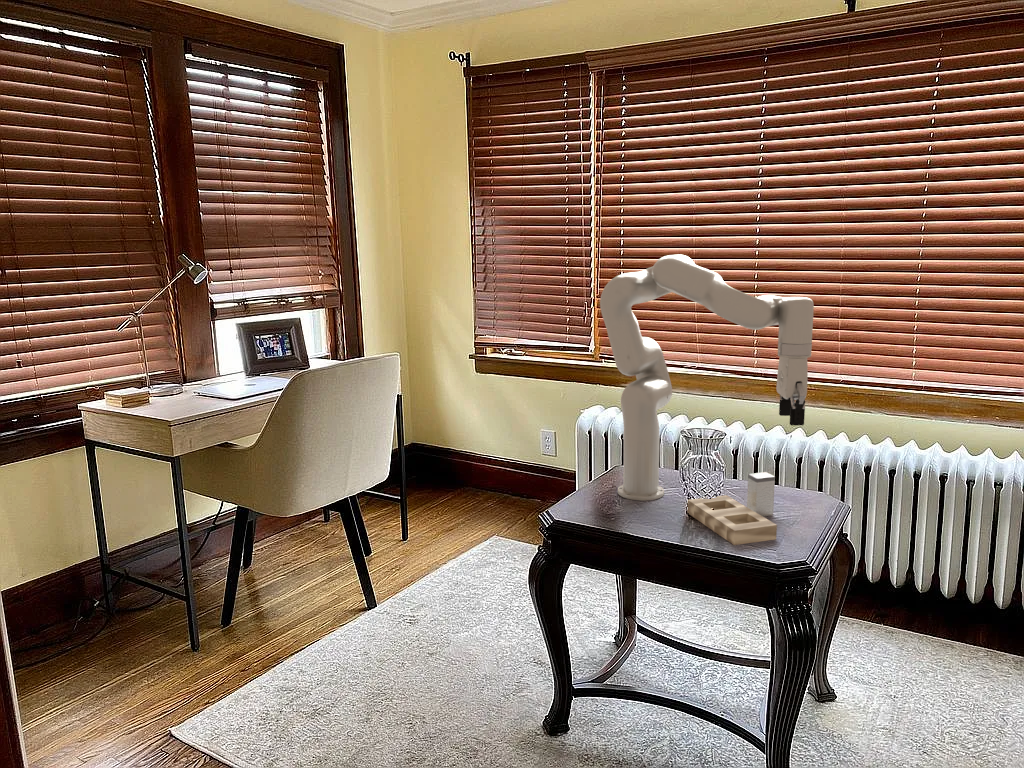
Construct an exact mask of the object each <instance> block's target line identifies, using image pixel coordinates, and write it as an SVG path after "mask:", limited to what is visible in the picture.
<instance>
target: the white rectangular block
mask: <svg viewBox="0 0 1024 768" xmlns="http://www.w3.org/2000/svg"><path fill="white" fill-rule="evenodd" d="M775 479H776V476H774V475H773V474H771V473H768V472H767V471H764V472H756V473H754V472H753V473H748V474H747V495H746V499H747V500H746V507H747V508H749V509H751V510H752V511H754V512H756V513H758V514H759V515H761V516H763V517H767V516H768V517H769V516H773V515H774V505H775V504H774V503H775V483H776V481H775Z"/></svg>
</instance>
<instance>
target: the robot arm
mask: <svg viewBox="0 0 1024 768" xmlns="http://www.w3.org/2000/svg"><path fill="white" fill-rule="evenodd" d="M671 293H673V294H675V295H678V296H681V297H683V298H685V299H687V300H690V301H692V302H694V303H696V304H699V305H701V306H703V307H704V308H706V309H707V310H709V311H710V312H712V313H714V314H715V315H717V316H719V317H720V318H722V319H724V320H727V321H728V322H731V323H734V324H736V325H738V326H741V327H743V328H746V329H750V330H754V331H755V330H756V331H758V330H762V329H765V328H768V327H772V326H778V336H777V338H778V339H777V340H778V342H777V356H778V357H779V359H778V360H779V361H778V364H777V365H778V366H777V374H776V375H777V376H776V378H777V379H776V392H777V394H778V395H779V404H778V406H779V407H778V408H779V409H778V415H779V416H780V417H787V416H789V425H790V426H804V425H805V413H806V400H805V399H806V398H807V394H808V379H809V378H808V374H809V373H808V371H809V369H808V367H809V366H808V358H811V357H812V349H813V348H812V347H813V344H812V343H813V327H814V311H815V310H814V309H815V307H814V306H815V305H814V301H813V300H812V298H809V297H803V296H790V297H789V296H788V297H782V296H777V295H773V294H766V295H765V294H764V295H760V296H754V295H751V294H747V293H745V292H743V291H740V290H739V289H736V288H733V287H732V286H730V285H728V284H727V283H726V282H725V281H724V280H723V277H722V276H721V275H720V274H719V273H718V272H715V271H712V270H710V269H708V268H705V267H702V266H699V265H697V264H696V263H695V262H694V261H693V259H692V258H690V257H689V256H688V255H684V254H669V255H664V256H662V257H660V258H658V260H656V261H655V263H654V264H653V266H651V267H648V268H646V269H642V270H640V271H631V272H624V273H622V274H618V275H616V276H615V277H613V278H611V280H609V281H608V282H607V284H606V285H605V286H604V288H603V289H602V292H601V295H600V301H599V306H600V307H599V309H600V313H601V317H602V319H603V322H604V325H605V328H606V332H607V337H608V340H609V344H610V347H611V351H612V355H613V359H614V362H615V365H616V368H617V370H618V371H619V373H621V374H622V375H625V376H627V377H632V376H635V378H636V380H634V381H631V382H630V383H629V384H627V385H626V386H625V388H624V389H623V391H622V393H621V396H620V405H621V406H620V407H621V412H622V421H623V423H622V424H623V466H622V467H623V473H622V478H623V480H622V481H623V482H622V484H620V485H619V486H618V488H617V494H618V495H619V496H620V497H622V498H624V499H626V500H627V499H628V500H631V501H643V502H644V501H645V502H646V501H654V500H659V499H660V498H663V497H664V496H665V489H664V488H663V487H662V486H661V485H660V483H659V482H660V481H659V478H660V424H659V423H660V422H659V419H658V414H657V413H658V412H657V411H658V410H661V409H662V408H663V407H665V406H667V404H669V403H670V401H671V399H672V396H673V387H672V382H671V379H670V375H669V371H668V366H667V363H666V360H665V356H664V353H663V351H662V348H661V347H660V345H659V343H658V342H657V341H656V340H655V339H653V338H651V337H648V336H643V335H642V332H641V329H640V326H639V325H640V324H639V322H638V319H637V317H636V315H635V314H634V312H633V310H632V309H633V308H632V307H633V306H634V305H638V304H643V303H644V304H645V303H647V302H651V301H653V300H656V299H658V298H661V297H663V296H665V295H668V294H671Z"/></svg>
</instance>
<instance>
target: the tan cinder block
mask: <svg viewBox="0 0 1024 768" xmlns="http://www.w3.org/2000/svg"><path fill="white" fill-rule="evenodd" d="M715 497H716V496H715ZM702 498H703V497H701V498H691V499H687V514H688V513H689V514H688V515H689V516H691V517H693V518H694V519H695V520H697V521H698V522H700V523H701V524H703V525H704V526H706V528H708V529H710V530H711V531H712V532H714V533H715V534H717V535H719V536H720V537H722V538H723V539H725V540H726V542H729V543H730V544H732V545H733V546H738V545H744V544H745V545H746V544H753V543H759V542H761V543H762V542H767V541H774V540H777V535H778V534H777V530H778V524H776V523H775V522H772V521H771V520H769V519H767V518H766V517H765V516H761V515H759V514H758V513H756V512H754V511H752V510H751V509H749V508H747V505H744V504H742V503H740V502H739V501H737V500H735V499H733V498H732V497H730V496H729V495H718V496H717V497H716V498H711V499H702ZM711 508H713V509H714V510H712V509H711Z"/></svg>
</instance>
